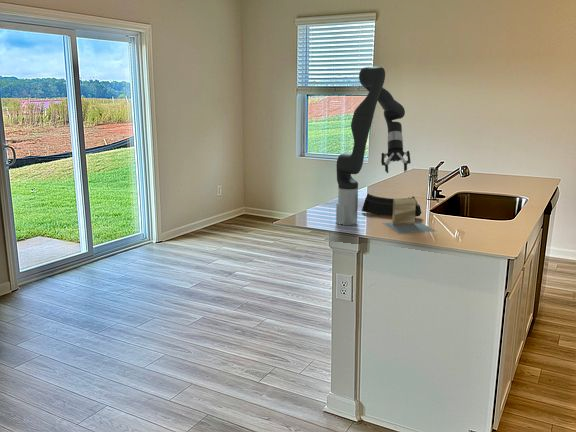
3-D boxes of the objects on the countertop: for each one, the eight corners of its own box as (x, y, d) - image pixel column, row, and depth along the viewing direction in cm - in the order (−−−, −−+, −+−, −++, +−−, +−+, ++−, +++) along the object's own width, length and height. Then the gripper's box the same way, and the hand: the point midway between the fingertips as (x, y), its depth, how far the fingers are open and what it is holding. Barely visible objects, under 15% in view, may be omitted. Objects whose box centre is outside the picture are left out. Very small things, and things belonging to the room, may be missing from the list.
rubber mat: (436, 231, 229) (437, 231, 229) (399, 234, 225) (399, 233, 225) (416, 221, 248) (416, 220, 248) (381, 223, 244) (381, 222, 244)
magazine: (357, 196, 265) (412, 183, 249) (359, 195, 268) (414, 182, 252) (365, 227, 266) (420, 217, 250) (367, 226, 269) (422, 216, 253)
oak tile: (414, 224, 241) (415, 199, 238) (394, 225, 239) (395, 200, 236) (411, 222, 244) (413, 198, 241) (392, 223, 242) (393, 199, 239)
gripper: (380, 140, 258) (381, 170, 253) (409, 137, 254) (410, 168, 249) (381, 146, 265) (382, 175, 260) (409, 143, 261) (411, 173, 256)
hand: (396, 171), depth 254 cm, fingers open, 8 cm apart
